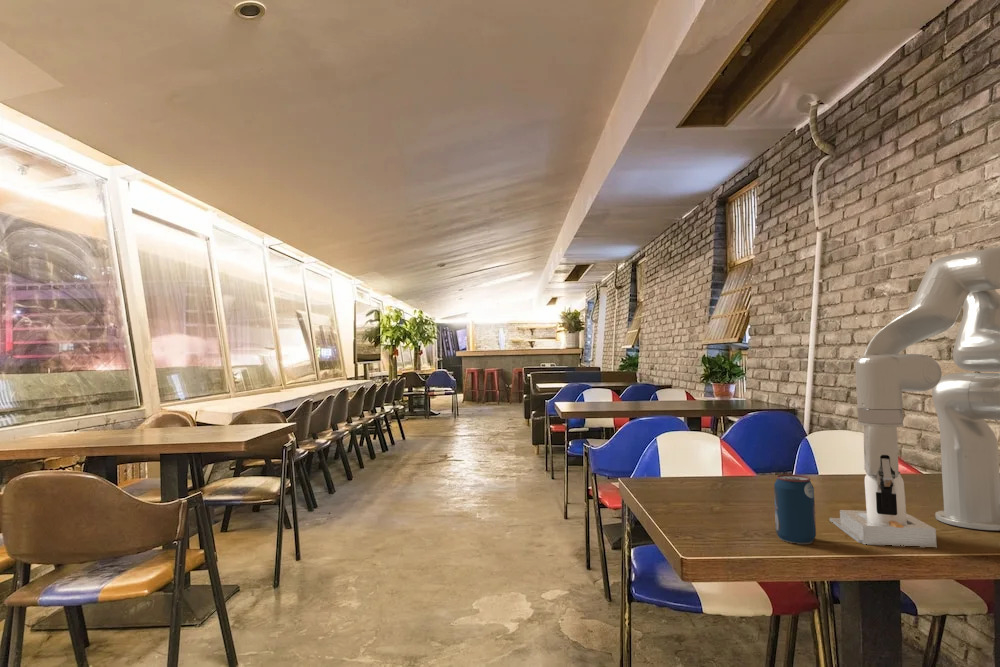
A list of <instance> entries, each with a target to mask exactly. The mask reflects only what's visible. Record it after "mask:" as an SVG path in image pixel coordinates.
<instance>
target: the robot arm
mask: <svg viewBox="0 0 1000 667" xmlns="http://www.w3.org/2000/svg"><path fill="white" fill-rule="evenodd" d="M997 290H1000V246H997V247H991V248H984V249H978V250H973V251H967V252H961V253H953V254H949V255H945V256H942V257H939V258H936V259H935V260H933V261H932V262H931V263H930V264H929V266H928V268H927V270H926V271H925V273H924V275H923V277H922V279H921V282H920V283H919V285H918V288H917V290H916V292H915V294H914V295H913V298H912V301H911V302H910V304H909V306H908V308H907V310H905V311H904V312H903V313H901V314H900V315H898V316H897V317H896V318H894V319H893V320H891V321H890V322H889V323H888V324H886V325H885V326H884V327H883V328H881V329H880V330H879V331H878V332H876V334H875V335H873V337H872V338H871V339H870V341H869V342H868V344H867V347H866V348H865V350H864V352H863V354H862V356H859V357H857V359H856V360H855V366H854V369H855V370H854V371H855V383H856V385H855V389H856V390H855V391H856V406H857V410H856V411H857V425H859V426H863V458H864V459H863V460H864V462H863V463H864V465H863V466H864V468H863V469H864V471H865V473H866V474H867V475H868V476H870V477H872V475H876V480H877V491H878V492H876V505H877V513H878V514H886V515H897V500H896V494H895V485H894V479H895V478H897V477H898V471H899V447H898V444H899V443H898V433H897V432H898V430H897V428H900V427H904V410H903V408H904V407H903V393H902V392H915V393H917V392H919V393H920V392H926V391H929V390H931V397H932V403H933V406H934V409H935V412H936V417H937V422H938V429H939V441H940V458H941V477H942V478H941V479H942V480H941V482H942V495H943V510H938V511H936V512H935V513H934V514H935V519H936V520H937V521H940V522H941V523H943V524H948V525H951V526H955V527H959V528H965V529H972V530H980V531H997V532H998V531H1000V461H999V460H1000V457H999V442H998V439H997V436H996V435H995V432H994V430H992V428H991V427H990V426H989V424H988V423H987V422H986V420H995V421H1000V293H999V292H998V291H997ZM962 309H963V313H962V317H961V321H960V325H959V328H958V331H957V335H956V338H955V342H954V346H953V351H952V360H953V362H954V364H955V365H956V366H957V367H958V368H959V369H962V370H965V371H969V372H955V373H953V372H952V373H947V374H945V375H942V368H941V366H940V364H939V363H938V361H936V359H934V358H933V357H930V356H928V355H925V354H920V353H910V354H909V353H904V354H903V353H901V352H903V351H904V350H905V349H907V348H909V347H911V346H913V345H914V344H916V343H919V342H921V341H924V340H927V339H930V338H932V337H935V336H938V335H940V334H942V333H945V332H946V331H948V330H950V329H951V328H953V326H954V325H955V324H956V322H957V319H958V317H959V315H960V313H961V311H962ZM879 474H883V476H879ZM894 476H895V477H894ZM880 480H881V482H880ZM882 480H883V481H882Z"/></svg>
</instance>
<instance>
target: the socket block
mask: <svg viewBox="0 0 1000 667" xmlns="http://www.w3.org/2000/svg"><path fill="white" fill-rule="evenodd" d="M906 518H907V524H900V523H898V522H896V521H889V523H890V524H885V523H871V522H869V521H867V510H855V509H854V510H852V509H849V510H848V509H840V510H839V517H829V522H831V523H832V522H833V523H832V524H833V525H835V526H836V527H837V528H839V529H840V530H841V531H842V532H844V533H845V534H846V535H848V537H851V538H852V539H853V540H854V541H856V542H857V543H861V544H863V545H866V544H867V545H868V546H885V545H892V546H891V547H905V546H920V547H919V548H925V547H936V548H935V549H937V548H938V545H937V544H938V543H937V530H936V528H935V527H934V526H931V525H929V524H927V523H926V522H924V521H921V520H920V519H918V518H916V517H914V516H913V515H911V514H908V513H907V512H906ZM900 545H901V546H900ZM903 545H904V546H903Z"/></svg>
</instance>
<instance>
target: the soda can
mask: <svg viewBox="0 0 1000 667" xmlns="http://www.w3.org/2000/svg"><path fill="white" fill-rule="evenodd" d="M773 490H774V491H773V493H774V496H773V498H774V518H775V519H774V521H775V522H774V523H775V524H774V525H775V533H776V535H777V537H778V538H779V539H780V540H781V541H782V540H783V541H782V542H784V541H786V542H785V543H788V542H791V543H790V544H792V543H797V544H796V545H810V544H812V543H813V542H814V540H815V539H816V536H817V531H816V530H817V529H816V527H817V526H816V508H815V507H816V506H815V487H814V486H813V483H812V482H811V478H810V477H809V476H805V475H801V474H800V475H798V474H779V475H777V476H776V480H775V482H774V484H773Z"/></svg>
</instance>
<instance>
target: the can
mask: <svg viewBox="0 0 1000 667" xmlns="http://www.w3.org/2000/svg"><path fill="white" fill-rule="evenodd" d="M879 476H883V474H879ZM894 477H895V476H894ZM882 481H883V480H882ZM880 482H881V480H880ZM894 485H895V494H896V500H897V515H886V514H878V513H877V505H876V492H878V491H877V480H876V475H872V477H870V476H868V475H867V473H866V474H865V476H864V493H865V507H866V510H865V511H867V521H869V522H871V523H885V524H890V523H889V521H896V522H898V523H900V524H907V518H906V513H907V506H906V492H905V483H904V479H903V478H902V475H901V472H900V471H899V470H898V477H897V478H895V479H894Z"/></svg>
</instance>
